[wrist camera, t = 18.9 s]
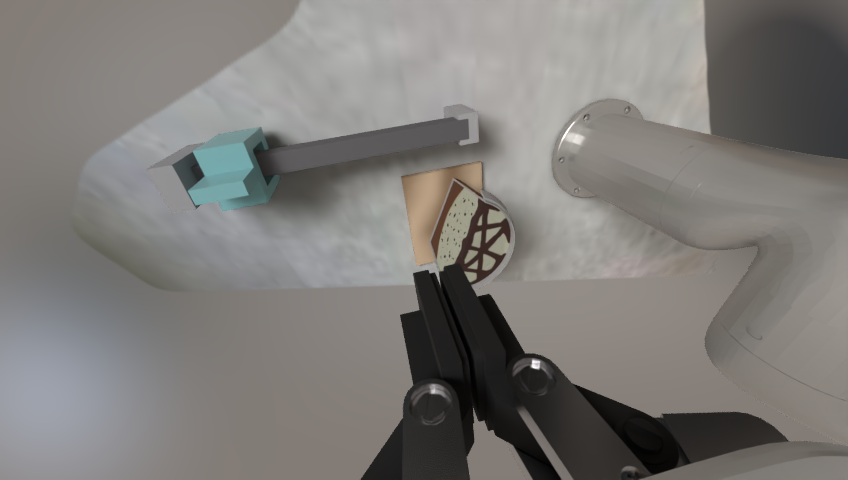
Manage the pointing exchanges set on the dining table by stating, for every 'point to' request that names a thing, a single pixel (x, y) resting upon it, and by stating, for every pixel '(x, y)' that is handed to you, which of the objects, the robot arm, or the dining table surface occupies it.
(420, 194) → the mat
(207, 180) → the sleeve
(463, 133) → the rail
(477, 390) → the robot arm
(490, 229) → the food container
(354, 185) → the dining table surface
